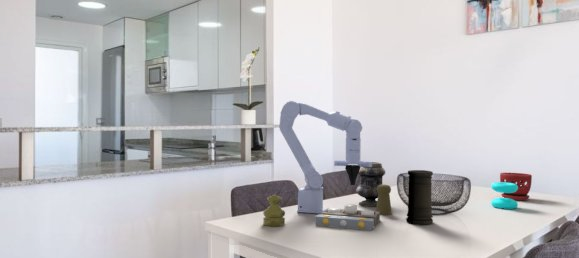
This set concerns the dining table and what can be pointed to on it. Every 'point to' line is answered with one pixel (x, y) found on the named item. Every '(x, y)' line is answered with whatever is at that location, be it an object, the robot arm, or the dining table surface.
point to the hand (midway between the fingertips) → (352, 184)
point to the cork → (383, 200)
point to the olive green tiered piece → (274, 213)
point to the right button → (367, 213)
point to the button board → (354, 215)
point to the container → (419, 197)
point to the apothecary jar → (370, 183)
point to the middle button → (350, 209)
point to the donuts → (504, 202)
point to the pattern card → (345, 222)
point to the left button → (334, 210)
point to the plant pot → (522, 190)
